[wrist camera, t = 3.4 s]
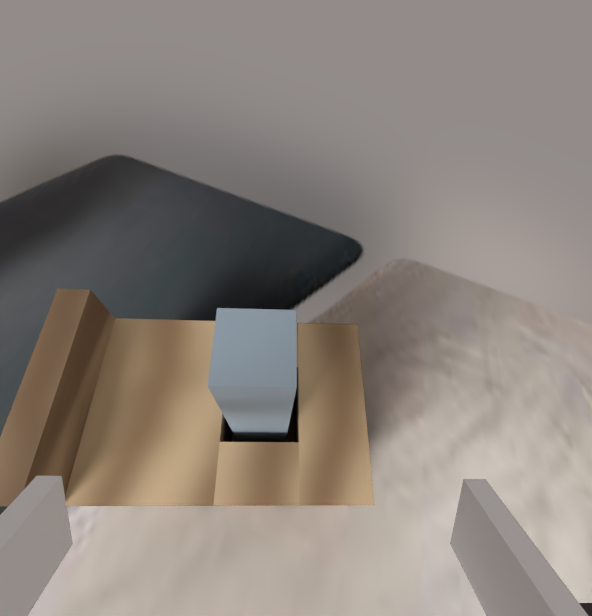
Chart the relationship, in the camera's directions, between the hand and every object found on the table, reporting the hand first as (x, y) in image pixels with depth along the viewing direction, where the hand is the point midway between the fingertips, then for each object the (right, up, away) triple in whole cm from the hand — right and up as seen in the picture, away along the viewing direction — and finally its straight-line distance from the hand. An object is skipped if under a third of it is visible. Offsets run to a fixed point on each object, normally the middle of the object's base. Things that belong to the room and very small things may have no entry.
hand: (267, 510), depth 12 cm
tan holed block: (-4, 0, +13) cm, 13 cm away
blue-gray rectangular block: (-2, -3, +17) cm, 18 cm away
